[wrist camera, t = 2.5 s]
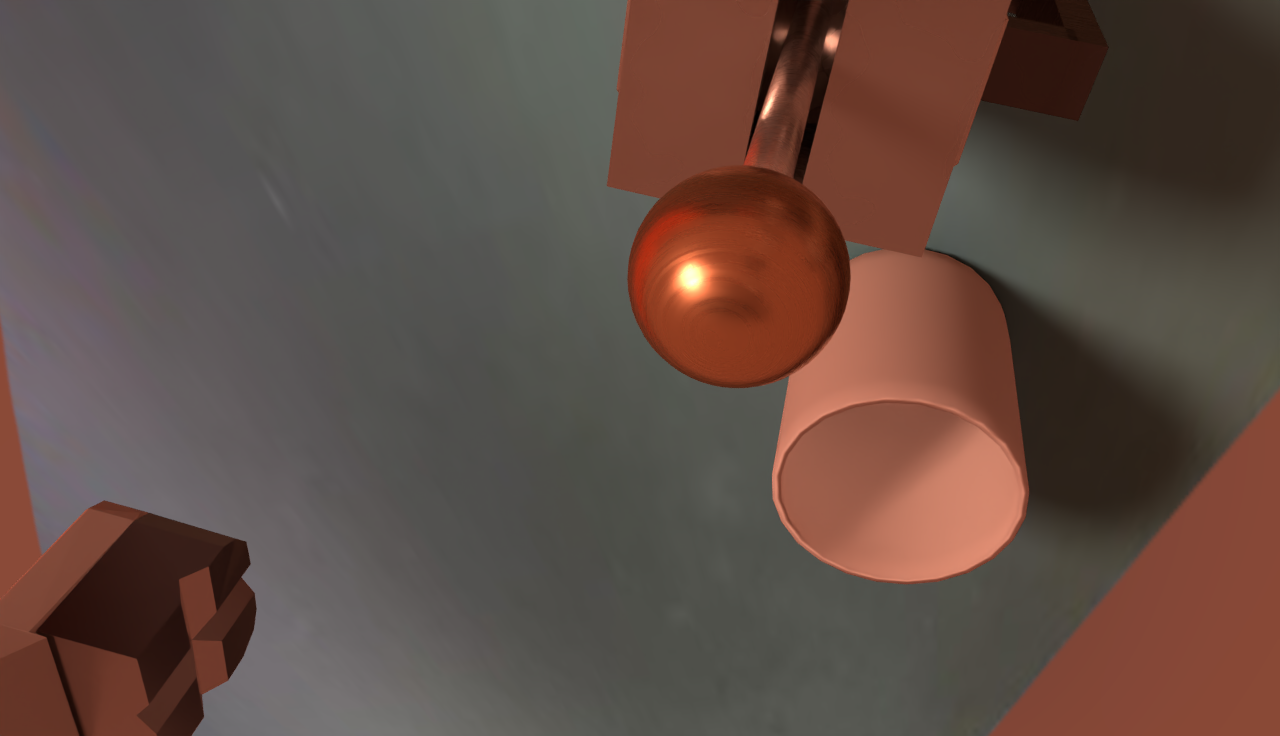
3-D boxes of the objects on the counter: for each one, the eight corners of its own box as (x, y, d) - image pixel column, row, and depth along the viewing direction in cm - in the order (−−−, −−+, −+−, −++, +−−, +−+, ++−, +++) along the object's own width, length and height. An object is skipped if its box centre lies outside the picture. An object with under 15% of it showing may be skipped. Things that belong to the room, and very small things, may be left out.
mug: (1047, 285, 45) (1080, 453, 36) (925, 471, 53) (926, 650, 43) (847, 209, 45) (828, 358, 36) (752, 405, 53) (717, 570, 43)
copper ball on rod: (721, -152, 28) (516, 70, 14) (975, -103, 27) (1032, 182, 13) (681, 90, 32) (492, 451, 18) (901, 137, 31) (884, 551, 17)
